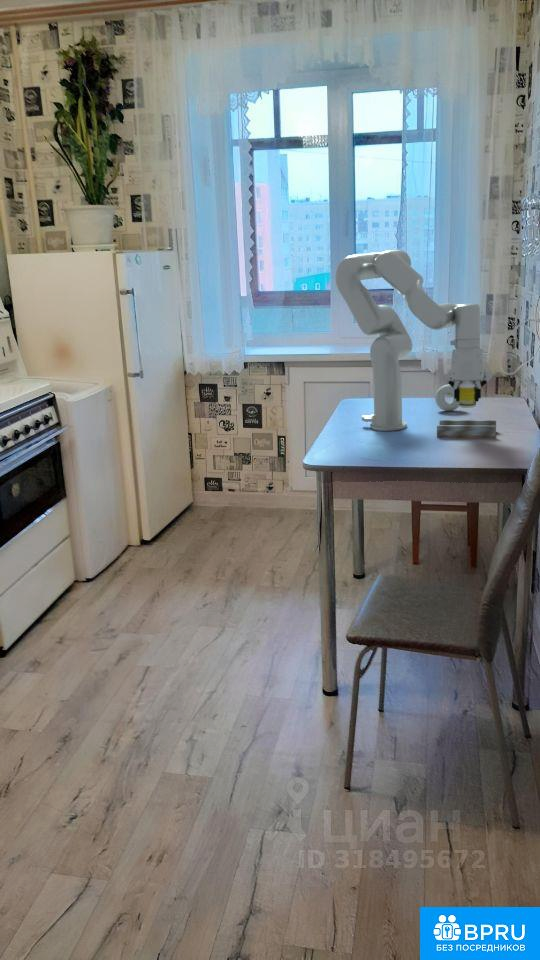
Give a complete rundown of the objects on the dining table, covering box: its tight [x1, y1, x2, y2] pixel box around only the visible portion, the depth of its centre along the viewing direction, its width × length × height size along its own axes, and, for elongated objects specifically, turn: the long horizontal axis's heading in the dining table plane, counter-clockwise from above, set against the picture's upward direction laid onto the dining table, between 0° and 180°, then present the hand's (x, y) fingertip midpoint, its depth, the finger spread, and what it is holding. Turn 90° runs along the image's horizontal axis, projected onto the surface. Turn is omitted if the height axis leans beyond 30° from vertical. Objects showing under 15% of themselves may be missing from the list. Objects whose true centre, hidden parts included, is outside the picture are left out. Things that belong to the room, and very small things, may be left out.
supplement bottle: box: [458, 381, 477, 409], centre depth 246 cm, size 5×5×10 cm
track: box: [436, 419, 497, 439], centre depth 249 cm, size 18×9×4 cm, turn 72°
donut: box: [434, 383, 459, 412], centre depth 284 cm, size 10×4×10 cm, turn 83°
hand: (467, 400), depth 247 cm, fingers closed on supplement bottle, 5 cm apart
